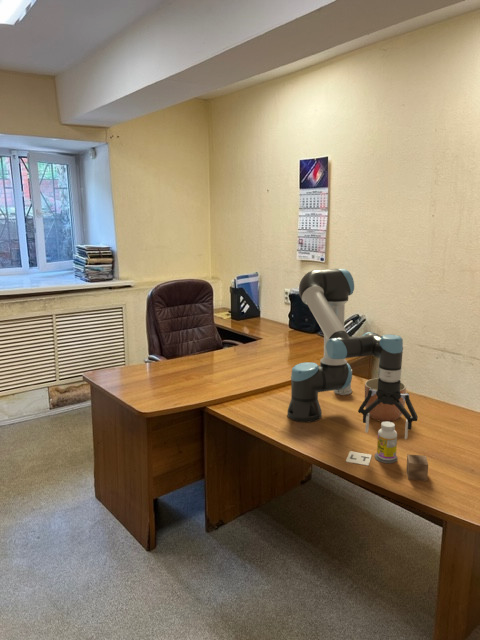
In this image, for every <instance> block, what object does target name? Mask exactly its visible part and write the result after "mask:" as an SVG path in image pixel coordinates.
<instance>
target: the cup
mask: <svg viewBox="0 0 480 640" xmlns="http://www.w3.org/2000/svg"><path fill="white" fill-rule="evenodd" d="M351 371H352V372H353V369H352V368H351ZM333 392H334V394H336V395H341V396H347V395H351V393H352V382H351V383H350V385H349V386H348V387H347V388H345V389H341V390H333Z"/></svg>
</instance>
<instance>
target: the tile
mask: <svg viewBox="0 0 480 640" xmlns="http://www.w3.org/2000/svg"><path fill="white" fill-rule="evenodd" d="M372 456H373V455H372V454H369V453H362V452H357V451H352V450H349V453H348V455H347V457H346V460H345V463H349V464H350V463H351V464H355V465H362V466H368V467H369V466H370V463H371V459H372Z"/></svg>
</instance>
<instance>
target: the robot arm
mask: <svg viewBox="0 0 480 640" xmlns="http://www.w3.org/2000/svg"><path fill="white" fill-rule="evenodd" d="M353 277H354V276H353V275H352V273H351V272H350V270H348V269H346V268H327V269H313V270H310V271H308V272H307V273H305V274H304V276H303V277H302V278H301V279H300V282H299V284H298V294H299V297H300V299H301V301H302V303H303V304H305V305H307V306H308V308H309V311H310V312H311V313H312V315H313V317H314V318H315V319H314V320H316V322H317V324H318V325H319V327H320V329H321V331H322V333H323V357H322V358H320V360H319V361H320V362H319V365H318V364H317V363H316V362H308V361H306V362H300V363H298V364H295V365H294V366H293V367H292V369H291V374H290V382H291V386H290V387H291V390H290V394H291V399H290V401H289V404H288V407H287V417H288V419H290V420H292V421H295V422H298V423H312V422H317V421H319V420H320V419H321V418H322V416H323V414H322V408H321V405H320V401H319V393H325V392H330V391H333V392H334V390H341V389H345V388H347V387H348V386H349V385H350V383H351V384H352V379H353V370H352V371H351V369H352V367H351V365H350V364H349V363H348V360H347V359H350V358H362V357H370V356H372V357H373V356H374V357H376V358H377V359H378V361H379V362H378V378H379V379H378V390H377V391H376V390H373V389H372V388H370V389H369V391H368V395H367V397H366V398H365V397H364V400H363V402H362V403H361V405H360V406H359V408H358V410H357V413H359V414H362V423H363V424H365V428H364V429H365V431H364V433H367V434H368V432H369V427H370V426H369V425H370V416H369V412H370V411H371V410H372V409H373V408H375V407H376V406H377V405H378V404H380V403H381V402H382V403H383V404H389V405H393V404H394V405H395V406H396V407H397V408H398V409H399V410H400V411H401V413H402V415H403V416H404V418H405V419H406V420H405V425H404V427H405V428H404V429H405V430H404V440H408V436H409V435H408V434H409V431H411V430H412V424H413V422H417V421H418V418H419V417H418V414H417V412H416V411H415V408H414V405H413V403H412V401H411V399H410V392H406V394H401V393H400V382H402V381H401V379H402V366H403V365H402V364H403V353H404V351H403V350H404V341H403V338H402V336H400V335H396V334H387V333H386V334H382V335H380V334H379V333H375V332H373V331H368V332H364V333H363V334H362V335H357V336H350V335H349V334H348V332H347V330H346V329H345V305H346V304H347V302H348V301H349V297H350V296H351V295H353V293H354V292H355V281H354V278H353ZM374 394H376V395H377V397H378V398H377V399H376V400H375V401H374V402H373V403H372V404H371V405H370V406H369V407H367V408H365V406H366V404H367V403H368V401H369V399H370V398H371V396H374ZM401 397H402V398H403V400H405V404H406V406H407V408H408V410H409V411H408V410H407V409H406V408H405V406H403V405H402V404H401V402H400V401H399V399H400V398H401Z"/></svg>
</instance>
